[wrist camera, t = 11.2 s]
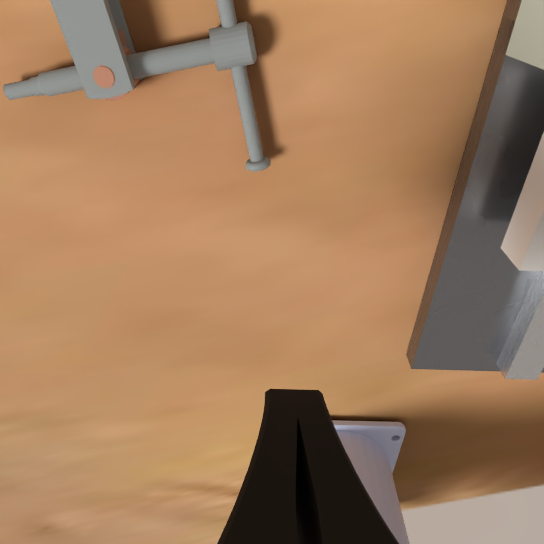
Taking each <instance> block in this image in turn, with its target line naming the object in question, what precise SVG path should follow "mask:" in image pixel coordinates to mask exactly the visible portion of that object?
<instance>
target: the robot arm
mask: <svg viewBox="0 0 544 544" xmlns="http://www.w3.org/2000/svg"><path fill="white" fill-rule="evenodd" d="M405 433H406V429H405V426H404V424H403V423H401V422H380V421H339V420H331V417H330V415H329V412H328V409H327V407H326V404H325V401H324V398H323V394H322V393H321V392H320V391H319V390H292V389H269V390H268V391H266V392H265V406H264V413H263V419H262V423H261V427H260V431H259V436H258V439H257V443H256V446H255V449H254V452H253V456H252V459H251V462H250V465H249V468H248V471H247V474H246V476H245V479H244V482H243V484H242V487H241V490H240V492H239V495H238V497H237V500H236V503H235V505H234V507H233V510H232V512H231V514H230V517H229V519H228V521H227V524H226V526H225V528H224V530H223V532H222V535H221V537H220V539H219V541H218V543H217V544H409V540H408V536H407V532H406V528H405V524H404V520H403V516H402V512H401V508H400V504H399V500H398V496H397V492H396V488H395V484H394V479H393V475H392V474H393V470H394V467H395V464H396V461H397V458H398V455H399V452H400V449H401V446H402V443H403V440H404V437H405Z"/></svg>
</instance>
